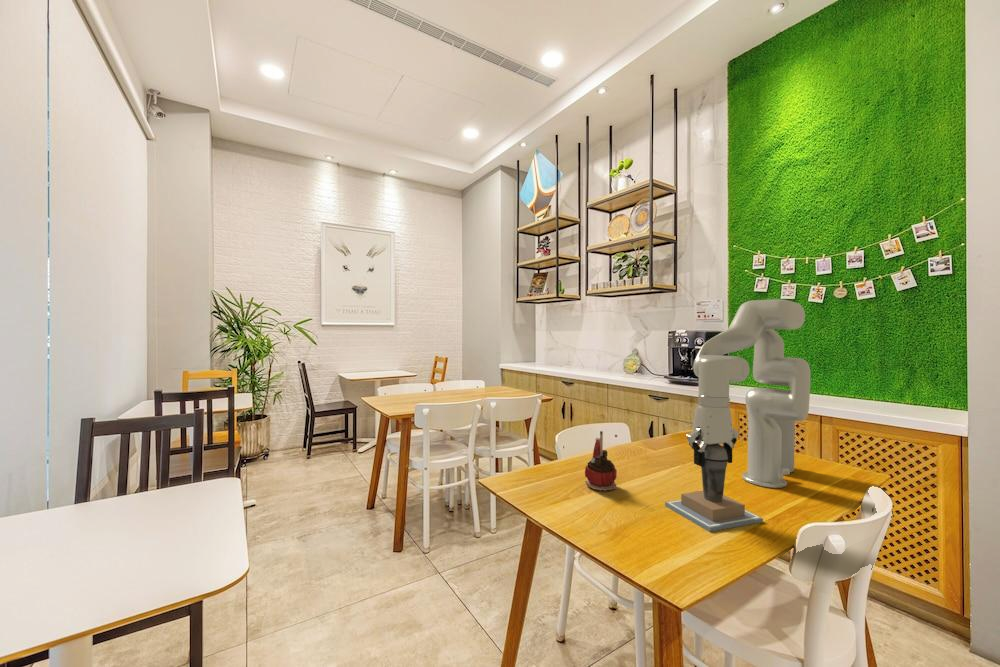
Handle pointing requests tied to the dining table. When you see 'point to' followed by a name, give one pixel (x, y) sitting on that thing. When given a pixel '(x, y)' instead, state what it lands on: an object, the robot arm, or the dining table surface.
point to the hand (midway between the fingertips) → (713, 463)
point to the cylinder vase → (787, 443)
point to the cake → (600, 468)
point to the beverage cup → (714, 472)
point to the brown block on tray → (713, 511)
